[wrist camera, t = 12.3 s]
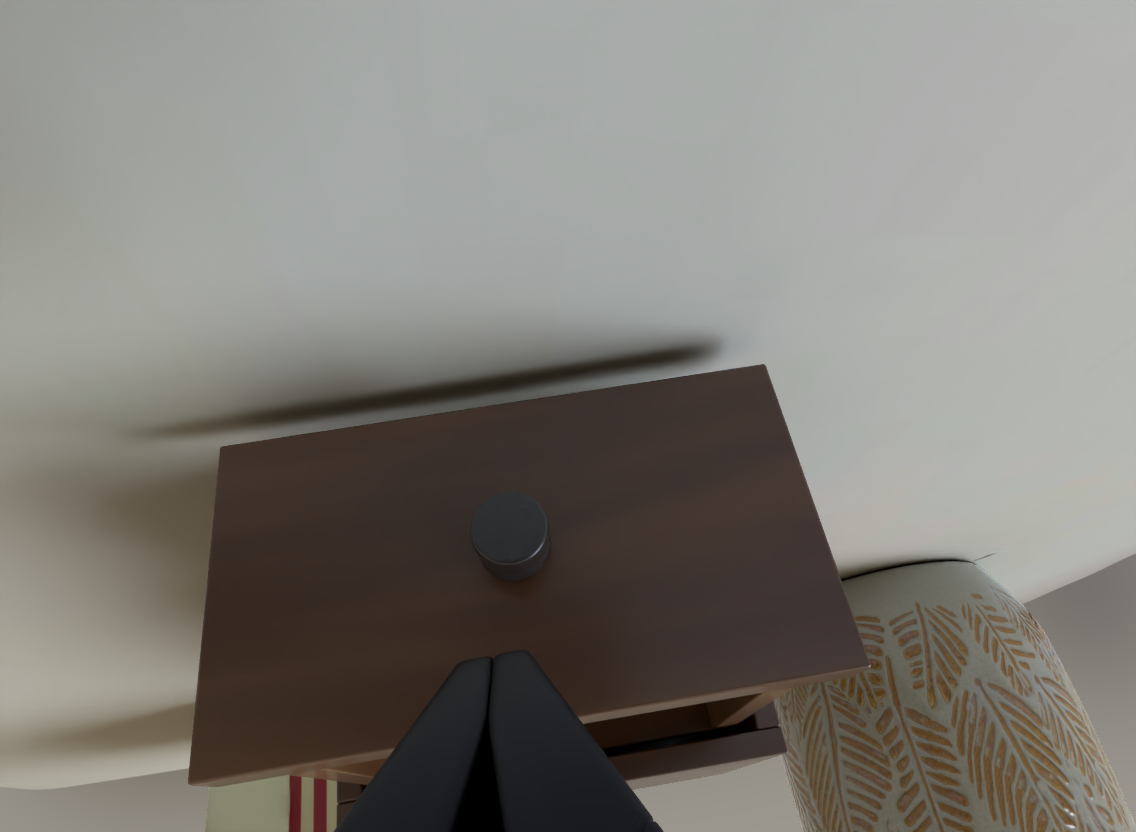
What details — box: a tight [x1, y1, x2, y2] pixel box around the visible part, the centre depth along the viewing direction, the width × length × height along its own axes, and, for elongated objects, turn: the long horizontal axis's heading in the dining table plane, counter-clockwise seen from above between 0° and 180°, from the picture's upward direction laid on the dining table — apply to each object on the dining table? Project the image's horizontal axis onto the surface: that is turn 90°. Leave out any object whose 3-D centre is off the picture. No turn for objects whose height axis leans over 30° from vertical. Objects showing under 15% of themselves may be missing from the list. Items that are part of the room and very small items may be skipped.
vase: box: [774, 561, 1136, 832], centre depth 41 cm, size 17×17×27 cm
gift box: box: [205, 775, 338, 832], centre depth 45 cm, size 17×18×17 cm
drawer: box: [188, 364, 871, 787], centre depth 20 cm, size 14×13×7 cm
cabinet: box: [336, 701, 788, 827], centre depth 31 cm, size 14×15×9 cm
